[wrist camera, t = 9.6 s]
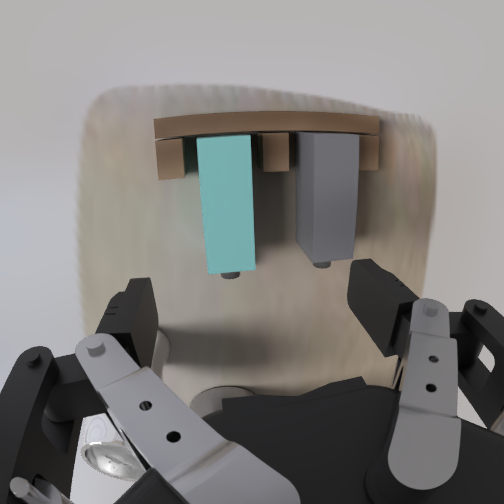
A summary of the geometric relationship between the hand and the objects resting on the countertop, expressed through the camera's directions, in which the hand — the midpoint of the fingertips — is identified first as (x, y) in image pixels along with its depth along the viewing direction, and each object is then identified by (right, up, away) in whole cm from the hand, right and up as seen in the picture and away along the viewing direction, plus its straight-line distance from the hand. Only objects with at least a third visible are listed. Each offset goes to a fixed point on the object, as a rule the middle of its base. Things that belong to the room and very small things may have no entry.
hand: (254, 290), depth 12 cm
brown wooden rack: (+1, +11, +13) cm, 17 cm away
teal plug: (-3, +6, +14) cm, 16 cm away
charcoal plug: (+5, +7, +15) cm, 18 cm away
